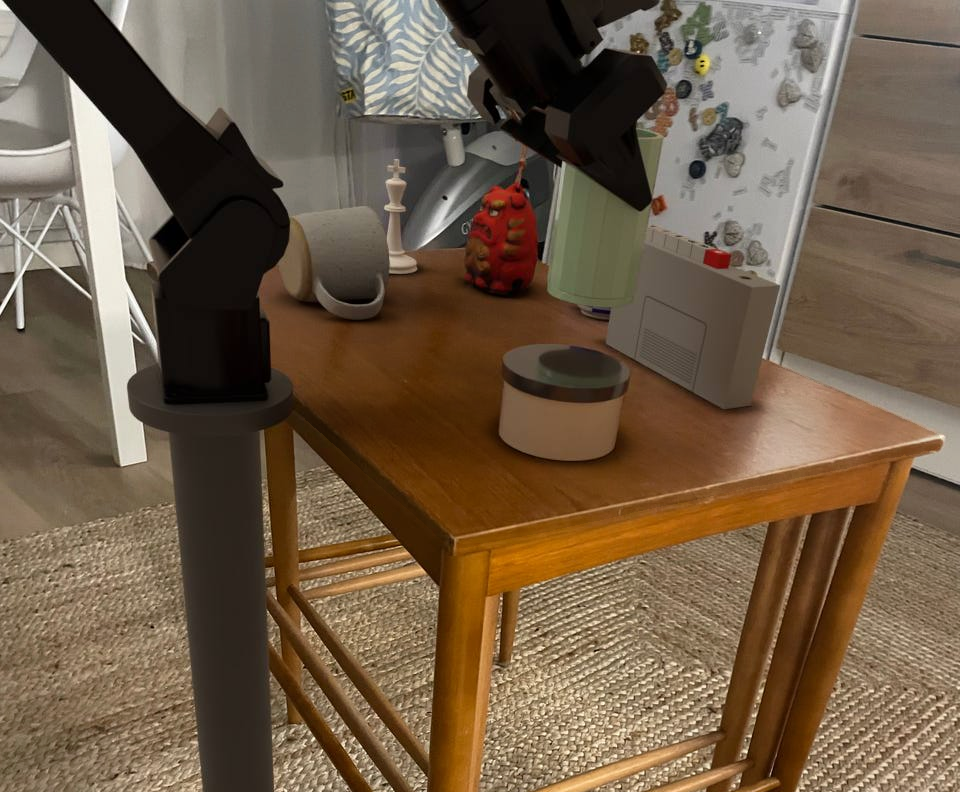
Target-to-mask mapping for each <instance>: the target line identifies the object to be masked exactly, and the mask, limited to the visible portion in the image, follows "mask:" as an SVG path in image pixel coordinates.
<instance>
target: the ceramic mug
mask: <svg viewBox="0 0 960 792" xmlns="http://www.w3.org/2000/svg"><path fill="white" fill-rule="evenodd" d="M289 218H290V236H289V243H288V246H287V248H286V251H285V253H284V256H283V257H282V258H281V259H280V261H279V262H278V263H277V264H278V269H279V273H280V276H281V279H282V282H283V285H284V287H285V289H286V290H287V292H288V294H289V295H290V296H292V297H293V298H294V299H295V300H297V301H298V302H306V303H319V304H320V305H321V306H323V307H324V308H325V309H326V311H327V312H328V313H330V314H332V315H334V316H336V317H339V318H341V319H342V318H343V319H346V320H351V321H363V320H368V319H371V318H373V317H375V316H377V314H378V313H380V311H381V309H382V307H383V305H384V304H383V303H384V298H385V294H386V292H385V291H386V289H387V286H388V283H389V277H390V274H389V269H390V259H389V248H388V243H387V234H386V231H385V228H384V225H383V224H382V221H381V219H380V217H379V216H378V214H377V213H376V211H375V210H374V209H373V208H372V207H370V206H368V205H367V206H366V205H359V206H353V207H344V208H338V209H329V210H323V211H314V212H313V211H312V212H304V213H300V214H296V215H293V216H289ZM368 299H369V300H370V299H374V300H373V301H372V302H370V303H366V304H365V303H363V304H352V303H347V302H345V301H356V300H357V301H358V300H368Z"/></svg>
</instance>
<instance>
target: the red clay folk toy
mask: <svg viewBox="0 0 960 792" xmlns="http://www.w3.org/2000/svg"><path fill="white" fill-rule="evenodd" d="M514 142H516V143H517V142H518V141H517V140H515V139H514ZM522 147H523V148H522V153H521V154H522V155H521V158H520V159H519V160H518V165H519V168H518V173H517V175H516V177H515V180H514V183H512V184H511V185H510V186H508V187H507V188H505V189H504V188H503V187H501V186H497V185H495V186H492V187H491V188H490V189H489V190H488V192H487V193H486V194H484V195H483V196H482V199H481V205H480V207H479V209H478V211H477V213H476V214H475V215H474V216H473V218H472V221H471V224H470V228H469V232H468V239H467V241H466V244H465V248H464V249H465V254H464V263H463V264H464V268H465V270H466V273H465V275H464V280H465V282H467V283H471V284H472V285H475V286H476V287H477V288H478V289H479V290H481V291H483V292H486V293H490V294H498V295H507V294H508V293H509V292H510V293H522V292H523V291H524V290H526V289H527V288H529V286H530V285H531V283H532V281H533V279H534V276H535V271H536V267H537V264H538V260H539V258H538V257H539V256H538V253H539V251H538V246H539V235H538V231H537V224H538V222H537V216H536V214H535V212H534V210H533V207H532V205H531V203H530V201H528V199H527V198H526V197H525V193H524V192H525V191H524V188H523V186H522V185H521V182H522V173H523V171H524V170H525V169H526V168H527V159H526V155H527V152H528V149H529V148H528V147H526V146H525V145H523V146H522Z"/></svg>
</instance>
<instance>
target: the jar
mask: <svg viewBox="0 0 960 792" xmlns="http://www.w3.org/2000/svg"><path fill="white" fill-rule="evenodd" d="M501 361H502V362H501V370H500V371H501V377H502V379H503V383H502V394H501V400H500V402H501V403H500V411H499V420H498V435H499V437H500V438H501V440H502V441H503V442H504V443H505V444H507V445H508V446H509V447H512V449H515V450H517V451H519V452H522V453H524V454H527V455H530V456H534V457H537V458H542V459H547V460H553V461H565V462H566V461H567V462H577V461H578V462H579V461H588V460H589V461H590V460H595V459H598V458H602V457H604V456H607V455H608V454H609V453H611V452H612V451H613V450H614V448H615V447H616V441H617V438H618V431H619V425H620V419H621V414H622V408H623V402H624V396H625V394H626V393H627V392H628V390H629V386H630V380H631V376H632V375H631V369H630V367H628V365H627V364H626V363H625V362H623V361H622V360H620V359H618V358H617V357H615V356H612V355H610V354H608V353H605V352H601V351H598V350H595V349H591V348H586V347H582V346H577V345H569V344H559V343H535V344H528V345H521V346H518V347H515V348H512V349H510V350H508V351H507V352H505V354H504V355H503V357H502V360H501Z"/></svg>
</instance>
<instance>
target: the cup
mask: <svg viewBox="0 0 960 792" xmlns="http://www.w3.org/2000/svg"><path fill="white" fill-rule="evenodd" d="M636 129H637V135H638V141H639V146H640V150H641V154H642V158H643V162H644V166H645V171H646V175H647V179H648V183H649V187H650V191H651V195H652V200H654V199H653V198H654V195H655V194H654V193H655V188H656V183H657V182H656V181H657V177H658V171H659V165H660V159H661V155H662V149H663V143H664V138H665V136H664V135H663V134H661V133H659V132H656V131H653V130H649V129H645V128H639V127H636ZM560 169H561V170H560V176H559V177H560V178H559V185H558V192H557V193H558V194H557V201H556V208H555V217H554V224H553V231H552V232H553V234H552V238H551V239H552V240H551V241H552V242H551V247H550V255H549V264H548V271H547V278H546V281H547V285H546V292H547V293H548V294H549V295H550V296H552V297H554V298H556V299H557V300H560V301H563V302H565V303H569V304H574V305H576V306H578V305H583V306H590V307H600V308H615V307H623V306H627V305H630V304H631V303H633V301H634V296H635V292H636V289H637V283H638V278H639V272H640V266H641V261H642V255H643V250H644V244H645V238H646V233H647V227H648V224H649V223H650V217H651V216H650V215H651V211H652V210H651V209H652V204H653V201H652V202H651V203H650V204H649V205H648V206H647V207H646V208H645V209H644V210H643V211H641V212H639V211H637V210H636V209H634V208H633V207H631V206H629V205H628V204H626V203H625V202H623V201H622V200H620V199H619V198H617V197H616V196H614V195H613V194H611V193H610V192H608V191H607V190H605V189H604V188H602V187H601V186H600V185H598V184H597V183H595V182H594V181H592V180H591V179H589V178H588V177H586V176H585V175H583V174H582V173H580V172H578V171H577V170H575V169H574V168H572V167H571V166H569V165H568V164H566V163H565V162H562V168H560Z"/></svg>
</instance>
